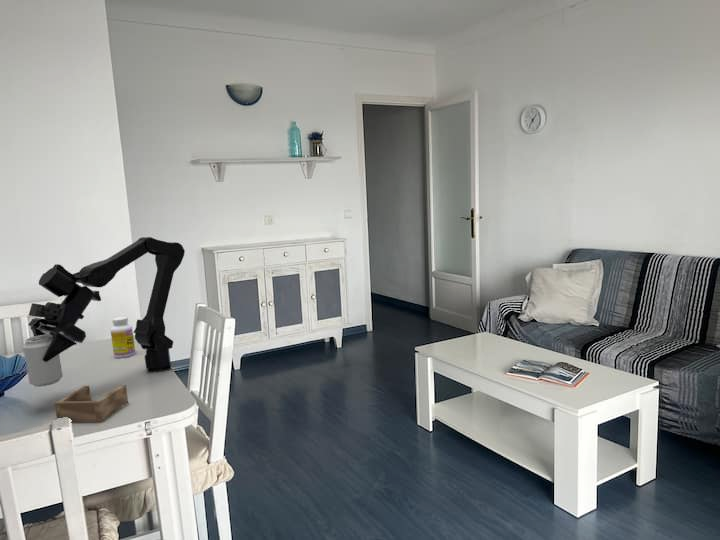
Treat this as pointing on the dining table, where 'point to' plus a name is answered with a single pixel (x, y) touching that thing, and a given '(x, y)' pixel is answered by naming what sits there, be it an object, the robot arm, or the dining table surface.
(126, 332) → the supplement bottle
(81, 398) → the u rest
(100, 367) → the dining table surface
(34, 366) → the can
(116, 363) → the dining table surface
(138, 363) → the dining table surface
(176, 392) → the dining table surface
